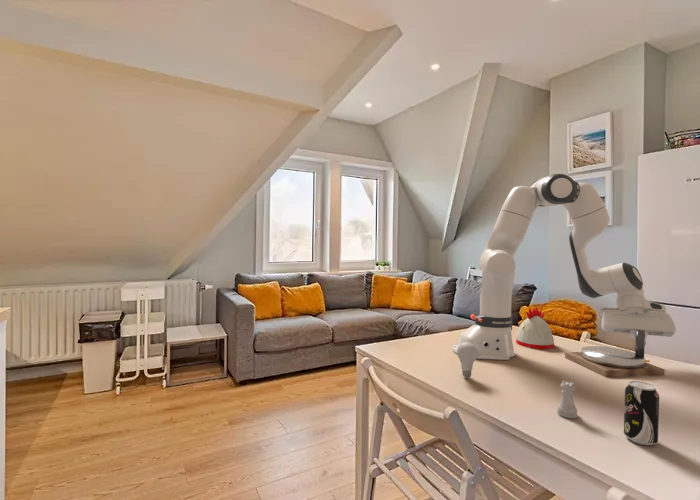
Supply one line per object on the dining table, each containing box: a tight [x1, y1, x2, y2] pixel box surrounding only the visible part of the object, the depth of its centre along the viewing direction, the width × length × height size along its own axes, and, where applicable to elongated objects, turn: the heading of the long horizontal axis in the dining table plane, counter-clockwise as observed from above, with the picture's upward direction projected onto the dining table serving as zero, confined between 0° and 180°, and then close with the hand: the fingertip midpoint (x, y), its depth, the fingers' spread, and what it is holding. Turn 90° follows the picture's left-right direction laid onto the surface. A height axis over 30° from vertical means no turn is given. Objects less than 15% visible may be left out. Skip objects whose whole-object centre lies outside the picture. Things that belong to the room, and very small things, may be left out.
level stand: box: [564, 351, 666, 378], centre depth 126 cm, size 20×19×2 cm
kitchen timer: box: [515, 307, 555, 350], centre depth 152 cm, size 14×14×15 cm
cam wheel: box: [580, 329, 651, 368], centre depth 125 cm, size 19×18×11 cm
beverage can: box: [623, 380, 660, 447], centre depth 79 cm, size 6×6×12 cm
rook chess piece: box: [556, 380, 579, 420], centre depth 90 cm, size 4×4×8 cm
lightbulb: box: [456, 342, 478, 379], centre depth 114 cm, size 6×6×11 cm
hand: (640, 344), depth 123 cm, fingers closed
